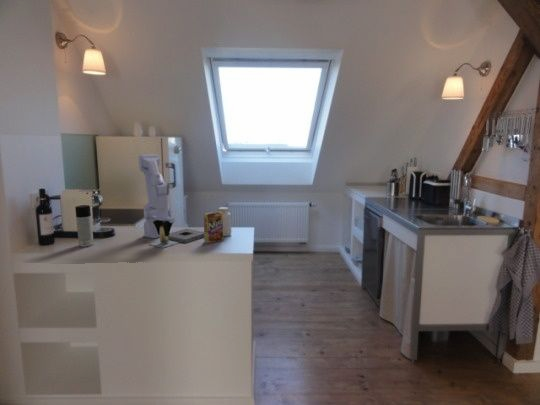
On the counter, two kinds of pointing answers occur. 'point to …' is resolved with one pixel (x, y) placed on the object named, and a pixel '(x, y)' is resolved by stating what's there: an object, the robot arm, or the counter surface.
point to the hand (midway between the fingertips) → (163, 235)
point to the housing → (190, 236)
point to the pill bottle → (226, 221)
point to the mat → (164, 244)
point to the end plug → (163, 235)
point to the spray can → (84, 225)
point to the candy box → (213, 227)
